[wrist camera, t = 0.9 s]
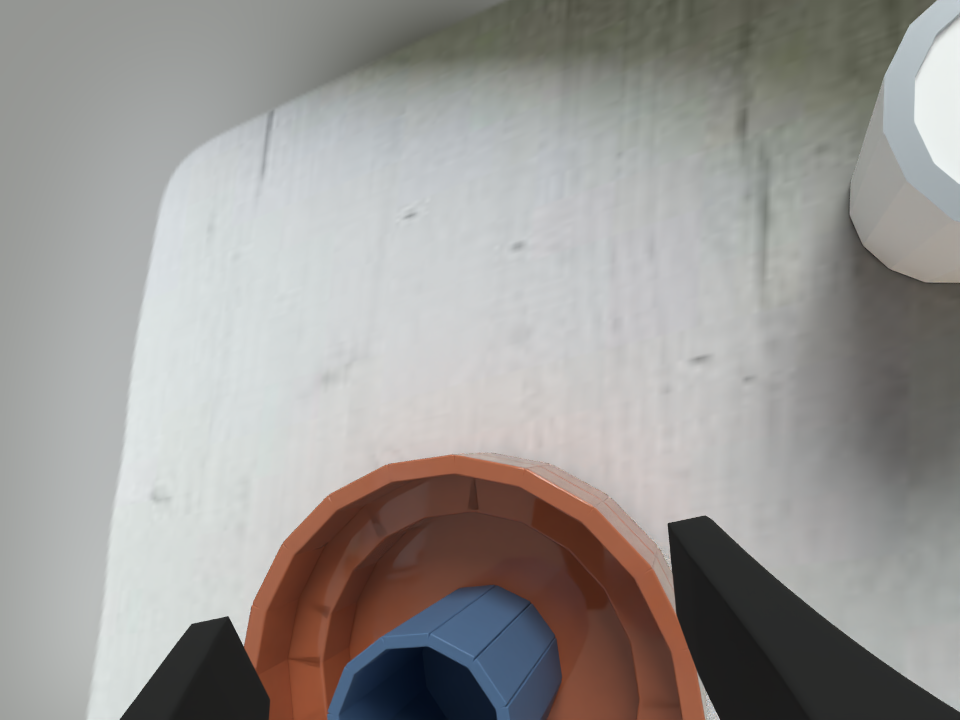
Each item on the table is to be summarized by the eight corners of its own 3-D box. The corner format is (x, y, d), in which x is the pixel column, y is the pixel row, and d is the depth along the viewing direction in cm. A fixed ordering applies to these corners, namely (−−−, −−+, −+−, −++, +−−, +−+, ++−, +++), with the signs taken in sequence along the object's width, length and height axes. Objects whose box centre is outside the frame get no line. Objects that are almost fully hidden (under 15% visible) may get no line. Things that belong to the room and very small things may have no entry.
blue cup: (571, 738, 23) (527, 846, 17) (428, 742, 24) (338, 843, 18) (548, 579, 24) (497, 627, 18) (410, 592, 25) (319, 640, 19)
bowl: (740, 883, 22) (752, 992, 17) (332, 872, 25) (259, 960, 21) (660, 427, 24) (654, 425, 20) (296, 480, 28) (223, 487, 23)
